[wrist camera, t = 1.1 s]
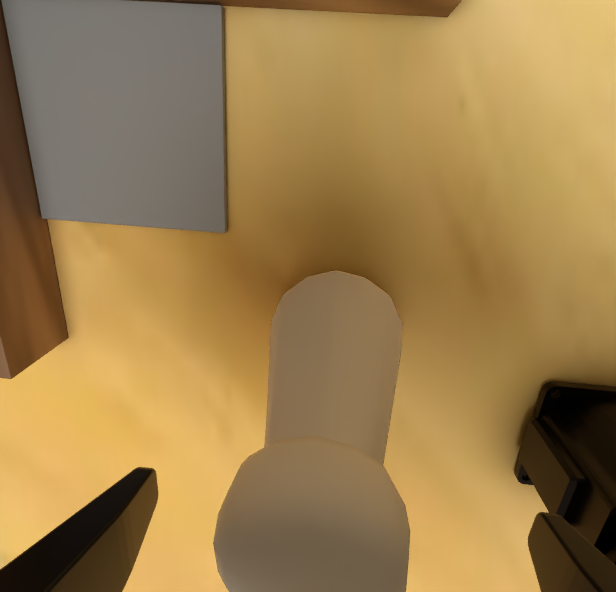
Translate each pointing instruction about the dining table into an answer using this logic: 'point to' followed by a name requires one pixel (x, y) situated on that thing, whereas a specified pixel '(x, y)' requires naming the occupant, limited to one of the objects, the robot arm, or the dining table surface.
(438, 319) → the dining table surface
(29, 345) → the corner walls
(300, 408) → the salt shaker
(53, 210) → the slate mat
